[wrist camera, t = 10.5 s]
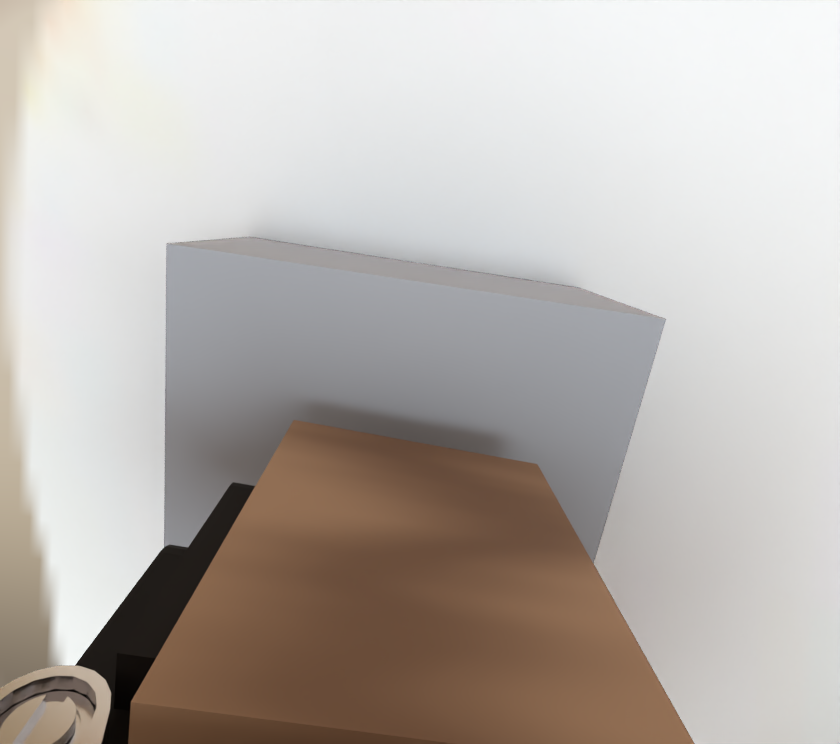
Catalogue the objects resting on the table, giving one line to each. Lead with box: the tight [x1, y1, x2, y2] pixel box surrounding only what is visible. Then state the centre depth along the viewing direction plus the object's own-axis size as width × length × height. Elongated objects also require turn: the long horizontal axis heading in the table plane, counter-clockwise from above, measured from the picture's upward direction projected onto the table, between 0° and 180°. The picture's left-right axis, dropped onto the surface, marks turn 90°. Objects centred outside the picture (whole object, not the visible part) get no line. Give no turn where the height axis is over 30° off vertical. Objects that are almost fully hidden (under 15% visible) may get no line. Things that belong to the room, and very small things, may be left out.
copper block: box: [128, 420, 694, 744], centre depth 8 cm, size 5×5×6 cm
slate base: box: [164, 237, 666, 563], centre depth 15 cm, size 11×11×6 cm
